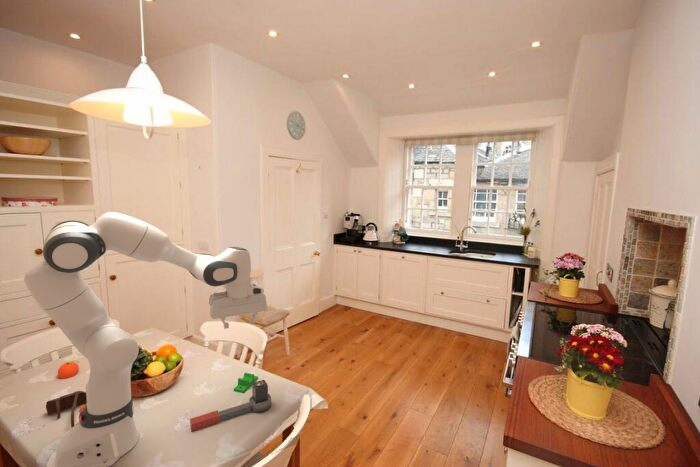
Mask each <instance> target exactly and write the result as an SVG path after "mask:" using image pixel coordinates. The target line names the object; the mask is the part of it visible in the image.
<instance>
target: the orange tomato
mask: <svg viewBox="0 0 700 467" xmlns="http://www.w3.org/2000/svg"><path fill="white" fill-rule="evenodd" d="M78 363H80V362H79V361H78V360H76V361H75V360H70V361H67V362H64V363H63V364H62V365H60V367H59V368H58V370H57V376H58V377H59V378H60V379H64V380H65V379H69V378H72V377H74V376H77V374H78V373H79V370H80V366H79V364H78Z"/></svg>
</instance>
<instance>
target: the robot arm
mask: <svg viewBox="0 0 700 467" xmlns="http://www.w3.org/2000/svg"><path fill="white" fill-rule="evenodd" d="M95 220H96V221H94V223H92V224H91V225H89V224H87V223H85V222H83V221H80V220H65V221H61V222H60V223H58V224H55V226H53V227H52V228H51V229H50V231H49V233H48V234H47V235H46V237H45V239H44V243H43V244H44V245H43V248H42V255H43V259H44V260H42V261H40V262H38V263H36V264H34V265H33V266H31V267H30V268H29V269H28V270H27V271H26V272H25V274H24V277H23V281H24V283H25V285H26V287H27V290H28V291H29V293H30V294H31V296H32V298H33V299H34V300H35V301H36V303H37V304H38V306H39V307H40V308H41V309H42V311H43V312H45V314H46V315H47V316H48V317H49V318H50V319H51V320H52V322H54V324H55V325H56V326H57V327H58V328H59V329H60V330H61V332H62V333H63V334H64V335H65V337H66V338H67V339H68V340H69V341H70V343H71V344H72V345H73V346H74V348H75V349H76V350H77V351H78V352H79V354H81V355H82V356H83V357H84V358H85V359H87V361H88V363H89V368H90V372H89V378H88V380H87V383H85V384H86V385H85V392H86V399H87V403H86V404H81V405H80V406H79V410H78V413H79V415H78V422H77V423H76V424H74V427H72V428H71V427H70V428H69V430H66V432H65V433H64V434H63V436H62V437H61V438H60V440H59V442H58V445H57V448H56V449H55V450H54V451H53V452H52V453H51V455H50V456H49V458H48V460H47V462H46V465H45V467H111V466H113V465H114V464H116V462H117V461H118V460H119V459H120V458H122V456H125V454H127V453H128V452H130V451H131V450H132V449H134V447H135V446H136V445H137V443H138V442H139V440H140V434H139V431H138V429H137V425H136V423H135V419H134V413H135V405H134V403H135V402H134V398H133V395H132V390H131V388H132V386H131V371H132V368H133V363H134V362H135V361H136V359H137V357H138V355H139V351H140V349H139V345H138V342H137V341H136V339H135V338H134V336H133V334H130V333H128V332H127V331H125V330H123V329H122V328H121V327H120V326H118V325H117V324H116V323H115V322H114V321H113V319H112V318H111V316H110V315H109V313H108V312H107V311H108V310H106V308H105V305H104V303H103V302H102V301H101V300H100V298H99V297H98V295H97V294H96V293H95V291H93V289H92V288H91V287H90V285H89V284H88V283H87V281H86V280H85V279H84V277H82V275H81V273H80V272H81V271H83V270H85V269H88V268H89V267H90V266H91V265H92V264H93V263H94V262H96V261H97V260H99V259H100V258H101V257H102V256H104V255H105V254H106V252H107V251H112V252H117V253H119V254H121V255H124V256H125V257H126V256H127V257H129V258H132V259H135V260H137V261H138V260H139V261H143V262H148V263H155V262H159V261H160V262H162V261H163V262H166V263H170V264H172V265H175V266H178V267H180V268H183V269H185V270H187V271H188V272H189V273H190V275H192V277H194V278H195V279H196V280H199V281H201V282H202V283H204V284H206V285H207V286H210V287H214V288H215V287H222V286H224V285H226V286H225V289H226V290H225V291H221V292H213V293H212V294H211V295H210V296H209V297H208V304H209V305H210V308H209V316H210V318H211V319H213V320H217V319H220V320H221V322H222V323H223V329H225V330H226V329H229V326H230V325H229V324H230V323H229V322H228V321H227V322H226V318H231V317H236V316H240V315H249V314H252V316H251V318H249V324H250V325H252V324H253V325H254V324H255V323H256V322H255V319H256V318H257V316H258V313H259V312H265V311H266V310H267V308H268V306H267V305H268V304H267V303H268V302H267V297H266V295H265V289H264V287H263V286H262V285H260V284H258V283H253V282H252V280H251V272H252V263H251V262H252V260H251V255H250V251H249V250H248V249H246V248H244V247H239V246H230V247H227V248H226V249H225V250H224V251H223V252H221V253H220V254H218V255H216V256H214V255H212V254H210V253H196V252H193V251H191V250H189V249H186V248H183V247H181V246H180V245H177V244H176V243H174V242H173V241H172V240H171V239H170V236H169V235H168V234H167V233H165V232H164V231H162V230H160V229H159V228H158V227H155V226H154V225H152V224H150V223H147V222H146V221H143V220H141V219H138V218H136V217H133V216H130V215H127V214H123V213H119V212H116V211H108V212H106V213H103V214H102V215H100V216H99V217H98V218H97V219H95Z"/></svg>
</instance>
